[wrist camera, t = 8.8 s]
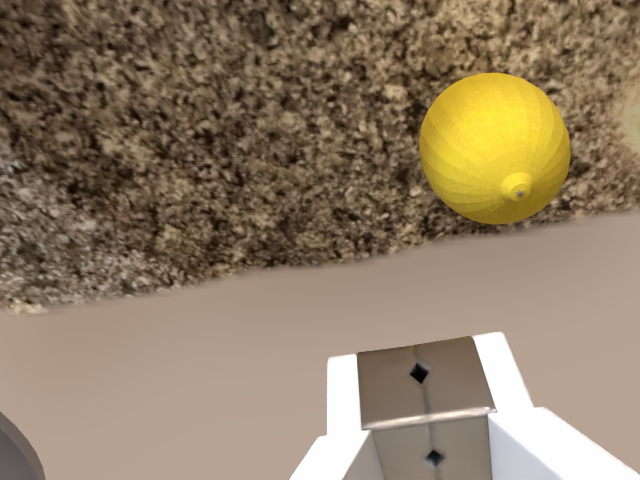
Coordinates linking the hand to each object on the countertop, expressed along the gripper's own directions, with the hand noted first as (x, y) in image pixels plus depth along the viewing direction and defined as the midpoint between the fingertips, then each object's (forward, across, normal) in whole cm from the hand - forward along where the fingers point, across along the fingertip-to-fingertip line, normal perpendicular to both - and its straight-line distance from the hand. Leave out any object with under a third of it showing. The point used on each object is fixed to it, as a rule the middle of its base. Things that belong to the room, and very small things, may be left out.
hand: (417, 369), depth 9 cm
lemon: (+18, -4, +3) cm, 18 cm away
